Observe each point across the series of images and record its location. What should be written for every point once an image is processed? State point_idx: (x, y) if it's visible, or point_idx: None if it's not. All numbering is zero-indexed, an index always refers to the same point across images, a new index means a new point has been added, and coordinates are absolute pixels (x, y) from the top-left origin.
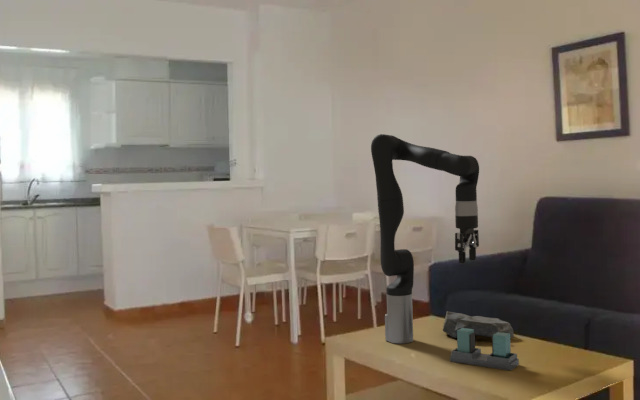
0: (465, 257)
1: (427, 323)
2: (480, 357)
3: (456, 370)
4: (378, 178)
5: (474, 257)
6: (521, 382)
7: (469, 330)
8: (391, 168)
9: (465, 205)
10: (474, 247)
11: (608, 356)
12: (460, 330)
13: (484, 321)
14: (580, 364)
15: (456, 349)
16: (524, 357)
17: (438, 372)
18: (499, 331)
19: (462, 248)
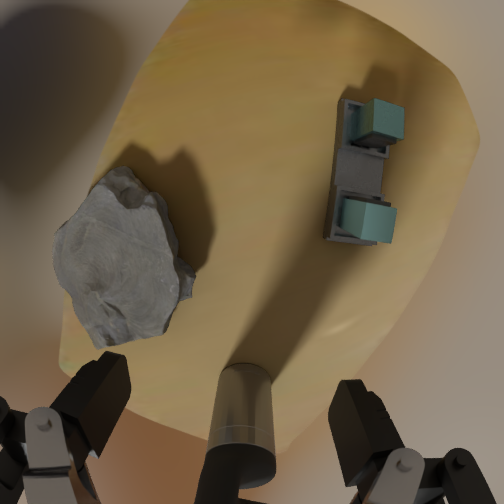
0: (361, 410)
1: None
2: (366, 177)
3: (414, 213)
4: None
5: (114, 371)
6: (427, 94)
7: (382, 210)
8: None
9: None
10: (68, 440)
11: None
12: (389, 234)
13: (96, 250)
14: (278, 10)
15: (359, 238)
16: (273, 100)
17: (430, 240)
18: (143, 191)
19: (467, 463)
